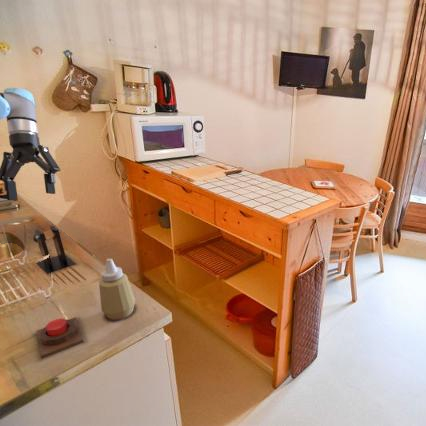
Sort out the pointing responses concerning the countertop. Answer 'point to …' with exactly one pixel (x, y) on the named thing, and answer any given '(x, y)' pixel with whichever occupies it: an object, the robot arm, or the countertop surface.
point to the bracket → (54, 262)
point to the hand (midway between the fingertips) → (31, 196)
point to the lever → (45, 235)
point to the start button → (56, 327)
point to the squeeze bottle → (115, 292)
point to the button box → (59, 339)
